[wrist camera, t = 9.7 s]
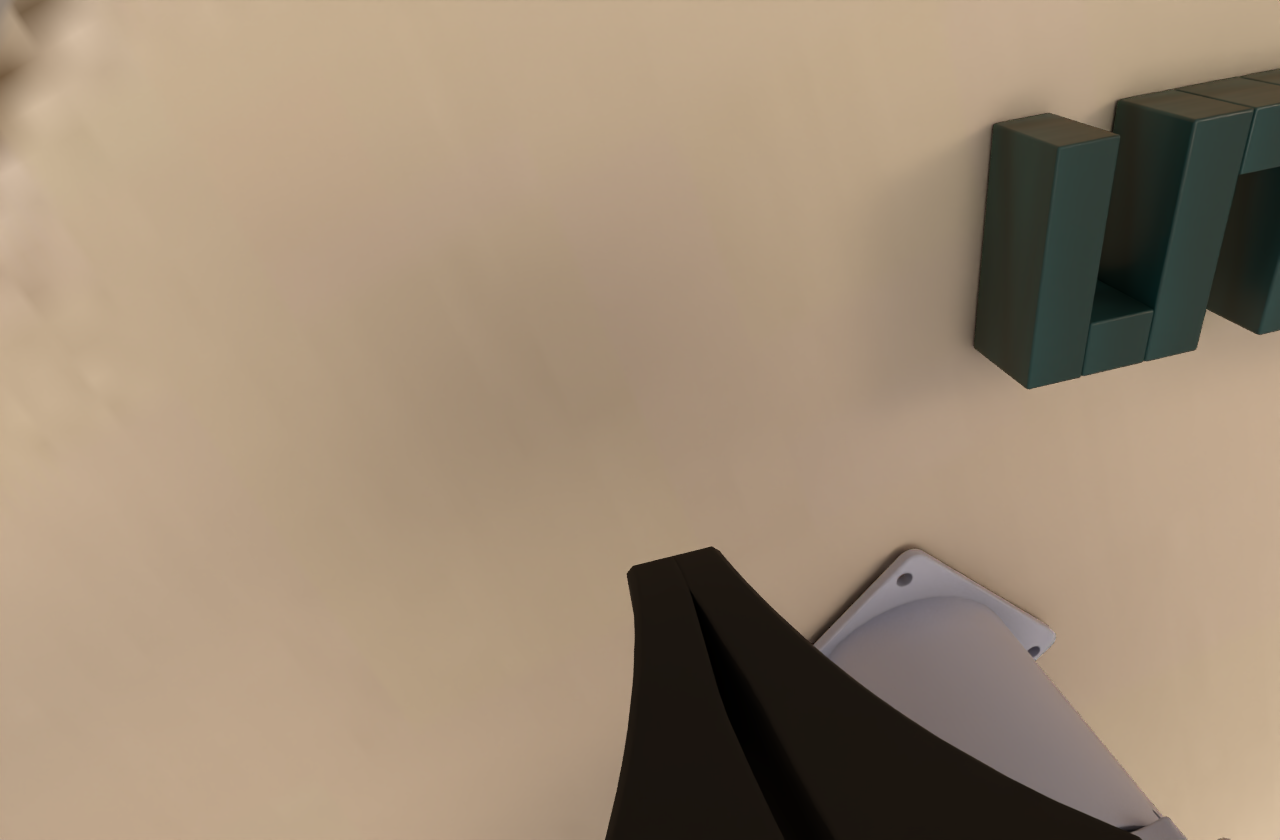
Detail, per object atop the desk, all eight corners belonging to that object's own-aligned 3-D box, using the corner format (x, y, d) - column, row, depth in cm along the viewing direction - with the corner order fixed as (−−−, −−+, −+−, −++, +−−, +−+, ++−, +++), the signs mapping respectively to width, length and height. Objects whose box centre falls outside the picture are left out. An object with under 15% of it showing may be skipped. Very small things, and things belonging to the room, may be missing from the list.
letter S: (972, 348, 24) (1027, 390, 21) (992, 123, 20) (1058, 146, 18) (1232, 289, 24) (1309, 324, 22) (1290, 65, 21) (1384, 82, 19)
